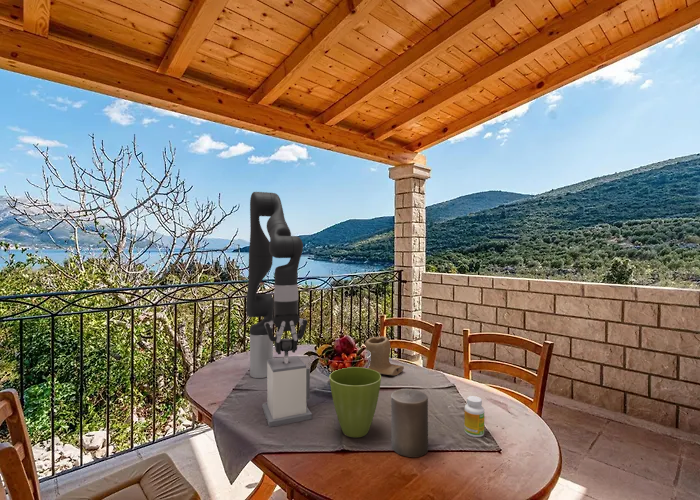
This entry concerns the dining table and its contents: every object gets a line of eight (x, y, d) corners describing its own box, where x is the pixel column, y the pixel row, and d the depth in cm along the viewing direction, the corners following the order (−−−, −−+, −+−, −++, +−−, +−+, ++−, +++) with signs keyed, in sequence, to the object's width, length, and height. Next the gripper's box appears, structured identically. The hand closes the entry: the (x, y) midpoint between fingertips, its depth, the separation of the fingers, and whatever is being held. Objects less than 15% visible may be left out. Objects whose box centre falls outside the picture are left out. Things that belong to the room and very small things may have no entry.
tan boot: (359, 374, 146) (359, 338, 146) (372, 366, 157) (372, 332, 157) (393, 381, 139) (393, 343, 139) (404, 372, 149) (404, 336, 149)
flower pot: (322, 423, 106) (322, 370, 105) (366, 414, 111) (367, 364, 111) (340, 450, 92) (340, 389, 92) (390, 438, 98) (390, 380, 98)
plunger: (271, 396, 114) (271, 338, 114) (295, 392, 117) (295, 335, 117) (276, 406, 107) (276, 344, 107) (301, 402, 110) (301, 341, 110)
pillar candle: (435, 454, 90) (435, 395, 90) (400, 460, 87) (400, 400, 87) (417, 435, 99) (417, 382, 100) (385, 440, 97) (385, 385, 97)
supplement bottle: (482, 439, 97) (482, 404, 97) (462, 434, 100) (462, 400, 100) (486, 431, 102) (486, 397, 101) (466, 426, 104) (467, 393, 104)
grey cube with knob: (262, 408, 116) (262, 358, 115) (303, 401, 121) (303, 353, 121) (269, 427, 104) (269, 371, 103) (315, 418, 109) (315, 365, 109)
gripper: (304, 296, 118) (304, 347, 118) (261, 298, 112) (261, 352, 113) (311, 299, 111) (311, 353, 111) (265, 301, 106) (265, 359, 106)
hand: (286, 352), depth 112 cm, fingers closed on plunger, 4 cm apart
